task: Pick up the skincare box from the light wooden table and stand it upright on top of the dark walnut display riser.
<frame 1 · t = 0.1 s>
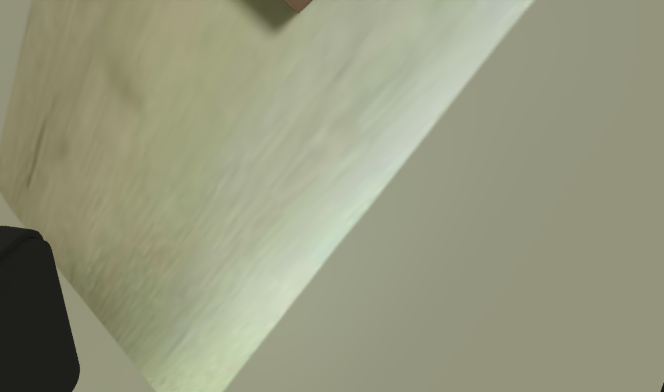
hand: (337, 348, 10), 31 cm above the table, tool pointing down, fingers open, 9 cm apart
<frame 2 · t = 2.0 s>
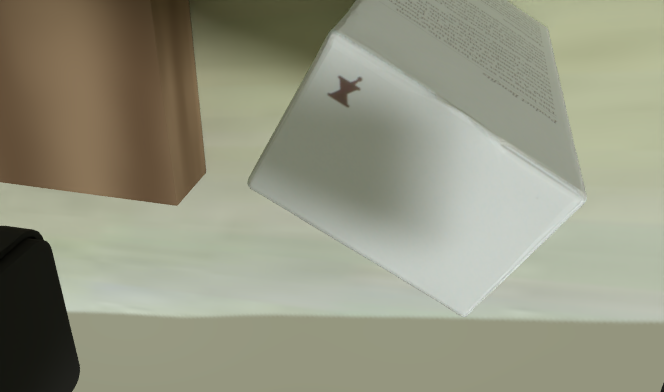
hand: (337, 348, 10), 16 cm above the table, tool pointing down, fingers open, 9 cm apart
skincare box: (447, 31, 23), on the table
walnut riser: (37, 27, 27), on the table
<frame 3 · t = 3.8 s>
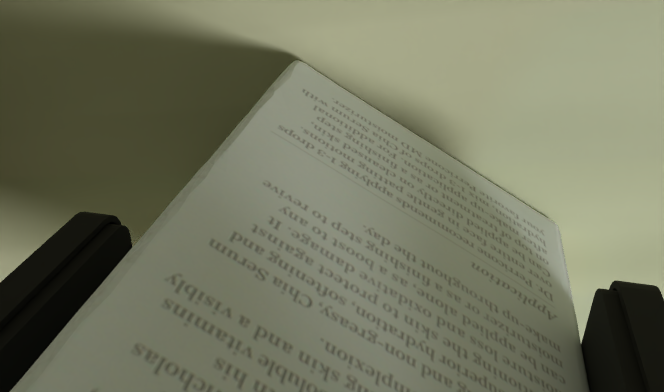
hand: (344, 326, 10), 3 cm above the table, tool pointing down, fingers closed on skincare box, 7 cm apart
skincare box: (378, 214, 13), on the table, touching gripper
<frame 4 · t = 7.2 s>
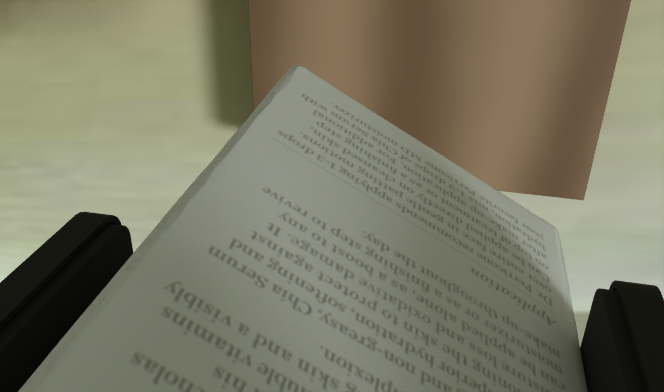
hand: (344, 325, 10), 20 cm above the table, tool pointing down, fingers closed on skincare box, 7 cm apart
skincare box: (378, 218, 13), point 16 cm above the table, touching gripper
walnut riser: (430, 23, 27), on the table
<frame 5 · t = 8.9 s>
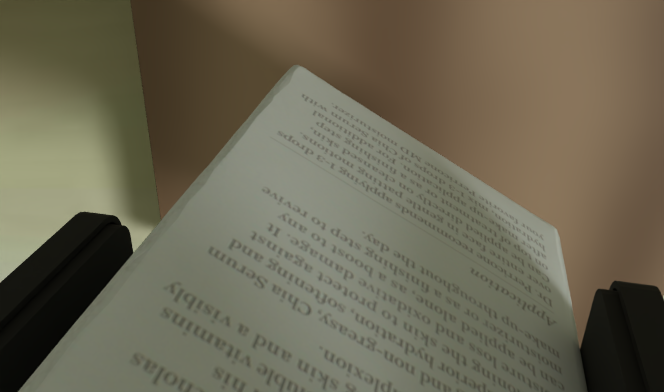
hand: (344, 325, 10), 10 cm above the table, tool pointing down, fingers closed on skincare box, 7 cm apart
skincare box: (378, 218, 13), point 7 cm above the table, touching gripper
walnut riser: (415, 101, 19), on the table
when the fingers open (8 cm above the table, at t = 10.4 s): skincare box drops 1 cm, resting on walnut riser.
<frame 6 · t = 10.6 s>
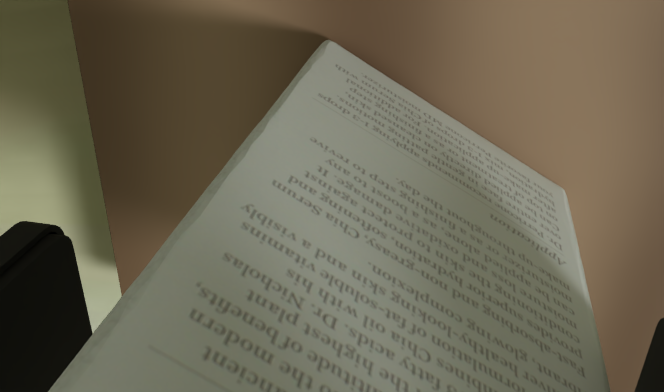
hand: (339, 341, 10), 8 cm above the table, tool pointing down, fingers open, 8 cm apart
skincare box: (399, 183, 14), point 3 cm above the table, touching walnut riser
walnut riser: (400, 134, 17), on the table
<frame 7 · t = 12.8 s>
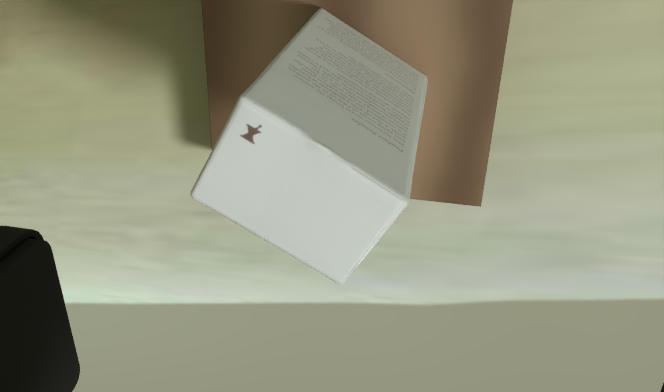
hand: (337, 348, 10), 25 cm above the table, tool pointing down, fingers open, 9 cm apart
skincare box: (354, 77, 30), point 3 cm above the table, touching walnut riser
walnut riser: (356, 61, 33), on the table
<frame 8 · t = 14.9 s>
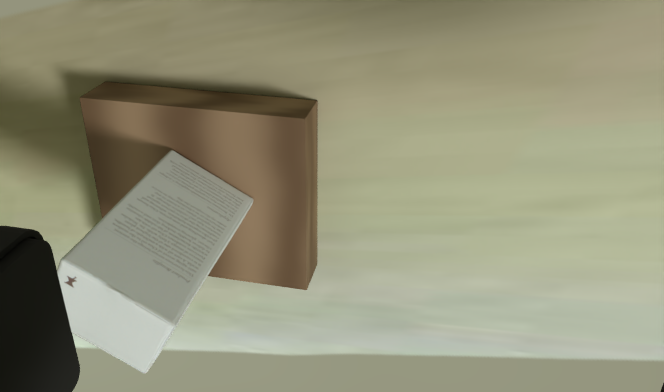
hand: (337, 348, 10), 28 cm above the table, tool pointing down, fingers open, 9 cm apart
skincare box: (203, 196, 40), point 3 cm above the table, touching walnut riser
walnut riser: (215, 176, 43), on the table
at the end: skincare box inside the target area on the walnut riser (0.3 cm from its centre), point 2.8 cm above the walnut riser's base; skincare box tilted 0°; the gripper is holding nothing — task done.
